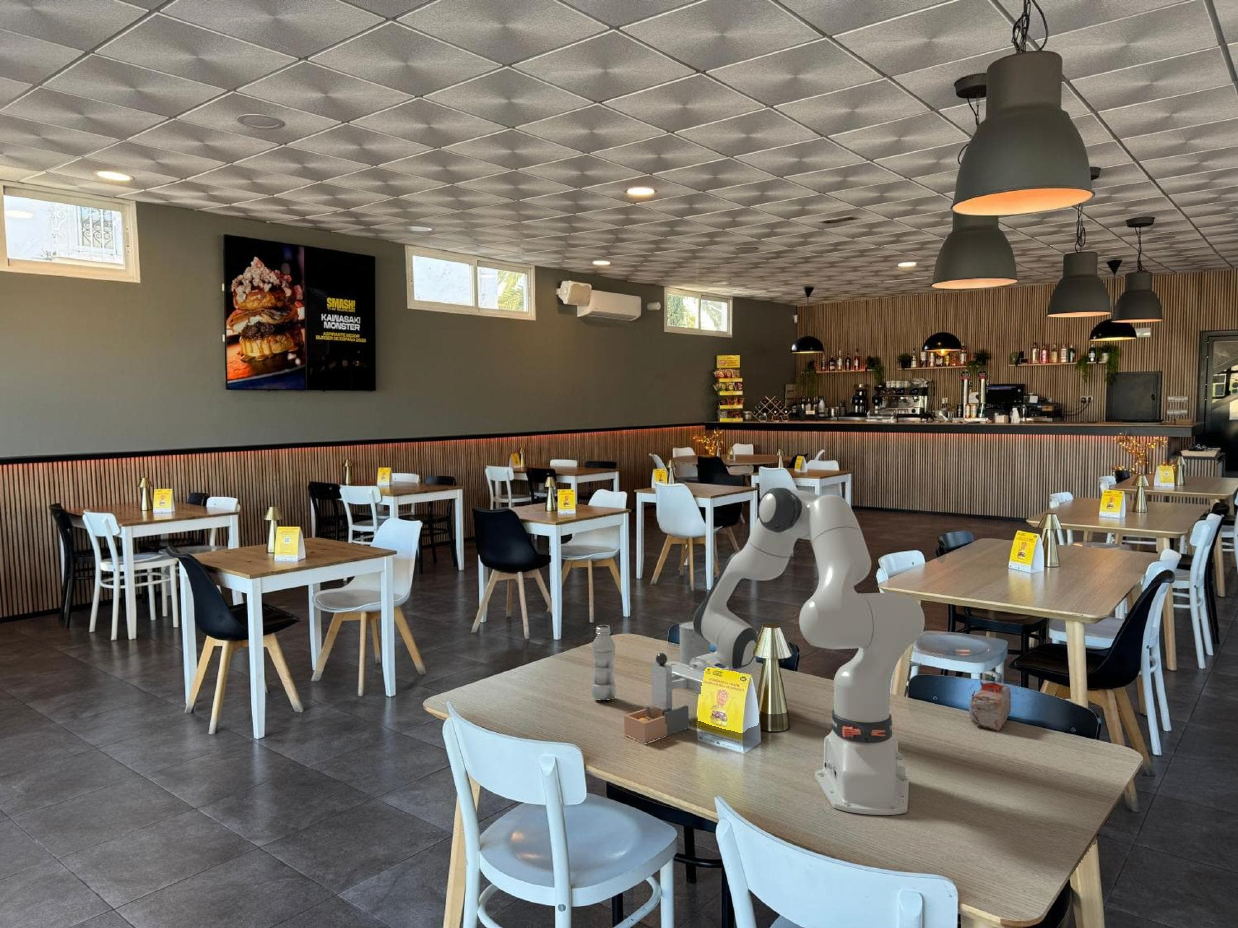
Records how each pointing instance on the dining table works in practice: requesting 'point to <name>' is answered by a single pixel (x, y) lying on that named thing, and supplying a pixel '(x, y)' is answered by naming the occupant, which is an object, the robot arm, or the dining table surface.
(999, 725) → the food item
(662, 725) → the cup
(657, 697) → the grey upright post
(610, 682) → the plastic bottle
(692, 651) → the grey cylinder
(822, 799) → the dining table surface
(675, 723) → the launcher
